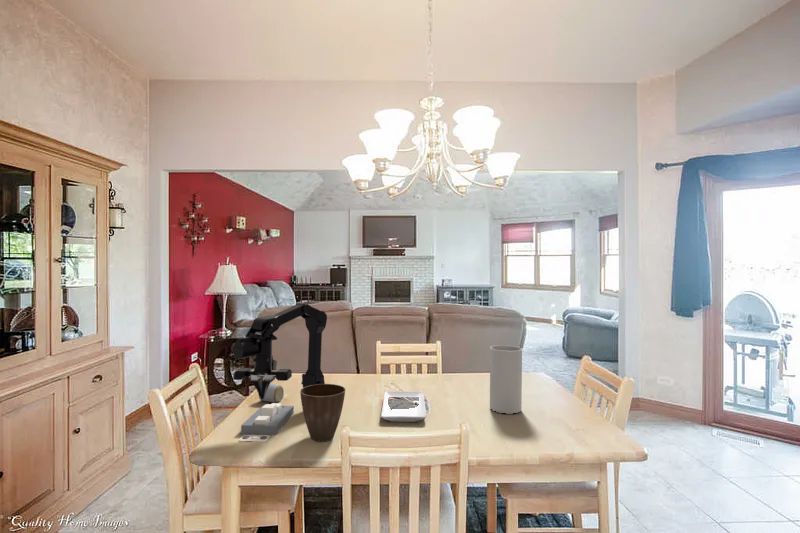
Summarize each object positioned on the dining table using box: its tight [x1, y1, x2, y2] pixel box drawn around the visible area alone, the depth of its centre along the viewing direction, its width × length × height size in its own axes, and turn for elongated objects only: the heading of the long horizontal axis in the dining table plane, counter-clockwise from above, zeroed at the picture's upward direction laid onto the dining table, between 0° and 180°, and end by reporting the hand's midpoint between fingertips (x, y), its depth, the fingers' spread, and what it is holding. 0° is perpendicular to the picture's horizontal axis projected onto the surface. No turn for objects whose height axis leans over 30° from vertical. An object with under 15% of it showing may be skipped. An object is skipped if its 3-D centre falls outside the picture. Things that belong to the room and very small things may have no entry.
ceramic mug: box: [257, 382, 285, 403], centre depth 179 cm, size 11×8×8 cm
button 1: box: [254, 416, 270, 425], centre depth 146 cm, size 4×4×4 cm
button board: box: [240, 404, 295, 436], centre depth 153 cm, size 12×21×3 cm, turn 178°
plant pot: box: [299, 383, 346, 443], centre depth 141 cm, size 15×15×16 cm
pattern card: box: [237, 434, 272, 443], centre depth 139 cm, size 9×5×1 cm, turn 88°
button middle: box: [261, 403, 277, 418], centre depth 153 cm, size 4×4×4 cm
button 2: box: [271, 402, 283, 411], centre depth 160 cm, size 4×4×4 cm
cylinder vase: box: [489, 344, 523, 415], centre depth 171 cm, size 12×12×25 cm
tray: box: [380, 390, 427, 423], centre depth 169 cm, size 17×32×4 cm, turn 179°
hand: (262, 398), depth 146 cm, fingers closed
